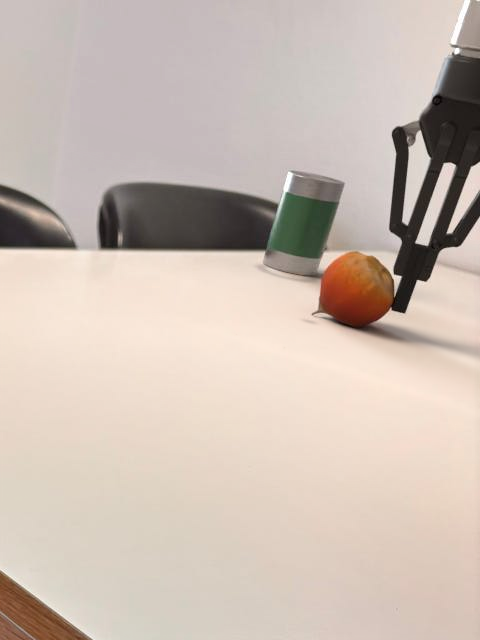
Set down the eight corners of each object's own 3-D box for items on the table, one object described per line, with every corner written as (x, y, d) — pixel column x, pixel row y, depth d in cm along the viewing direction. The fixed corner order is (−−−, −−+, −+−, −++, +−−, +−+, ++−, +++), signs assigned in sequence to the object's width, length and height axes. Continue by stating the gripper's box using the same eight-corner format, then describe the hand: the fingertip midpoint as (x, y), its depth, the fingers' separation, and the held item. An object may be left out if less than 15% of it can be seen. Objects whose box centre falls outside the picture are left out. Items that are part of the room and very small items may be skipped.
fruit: (311, 289, 119) (367, 235, 114) (356, 342, 119) (415, 290, 114) (287, 297, 113) (346, 240, 108) (336, 354, 113) (397, 299, 108)
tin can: (318, 270, 140) (346, 181, 134) (314, 279, 134) (344, 186, 128) (265, 257, 141) (290, 168, 135) (259, 265, 135) (285, 172, 129)
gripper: (418, 44, 99) (335, 301, 111) (564, 72, 96) (462, 332, 108) (417, 46, 105) (338, 289, 117) (554, 72, 102) (459, 317, 114)
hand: (398, 309), depth 113 cm, fingers closed
